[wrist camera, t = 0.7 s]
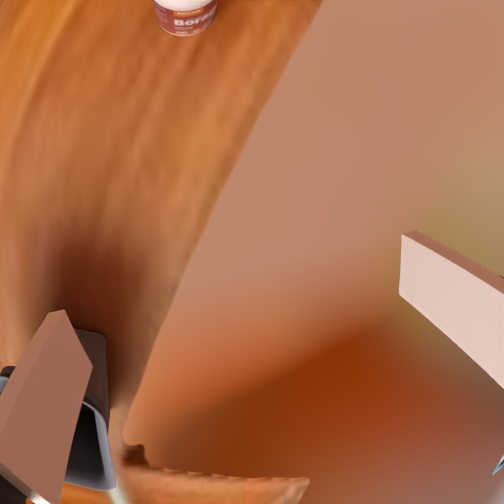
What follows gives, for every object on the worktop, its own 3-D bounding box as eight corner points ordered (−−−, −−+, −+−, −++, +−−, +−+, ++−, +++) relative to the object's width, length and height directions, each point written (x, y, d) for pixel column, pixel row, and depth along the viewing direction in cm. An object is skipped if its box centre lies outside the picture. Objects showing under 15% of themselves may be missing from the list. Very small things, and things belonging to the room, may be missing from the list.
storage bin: (125, 424, 42) (118, 496, 29) (41, 404, 39) (19, 468, 25) (125, 320, 36) (104, 404, 23) (20, 297, 32) (-31, 363, 19)
